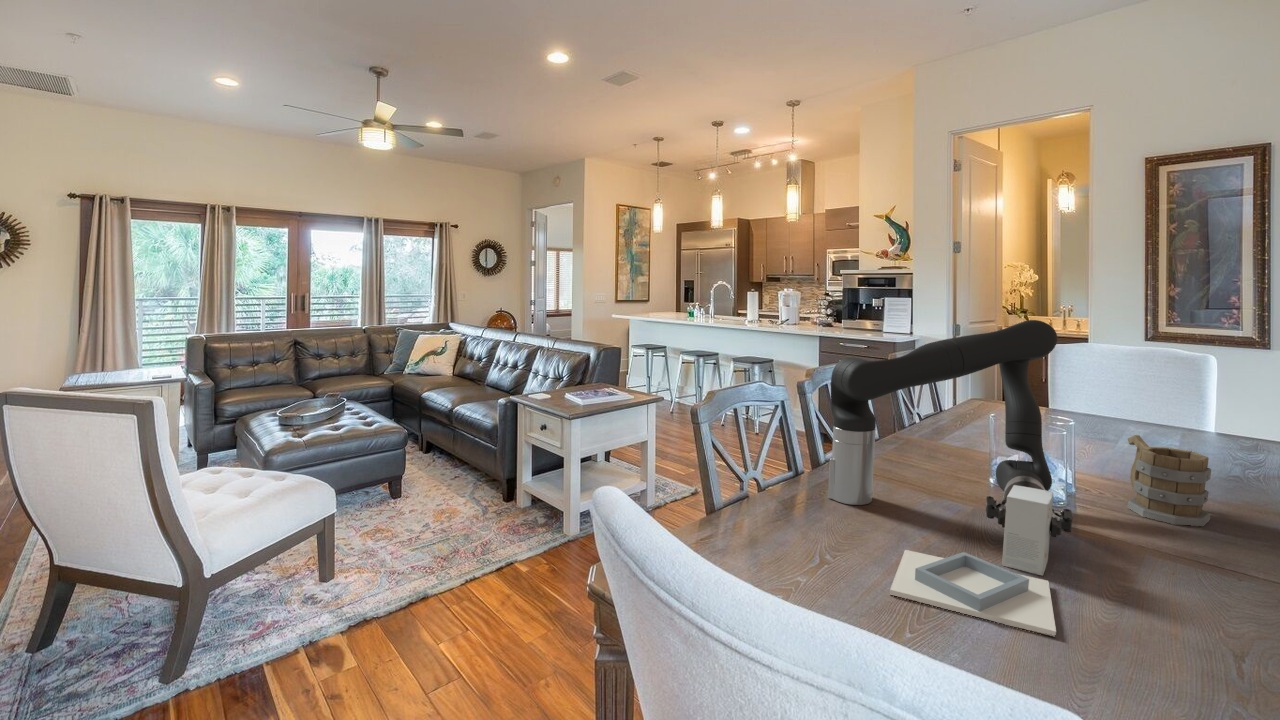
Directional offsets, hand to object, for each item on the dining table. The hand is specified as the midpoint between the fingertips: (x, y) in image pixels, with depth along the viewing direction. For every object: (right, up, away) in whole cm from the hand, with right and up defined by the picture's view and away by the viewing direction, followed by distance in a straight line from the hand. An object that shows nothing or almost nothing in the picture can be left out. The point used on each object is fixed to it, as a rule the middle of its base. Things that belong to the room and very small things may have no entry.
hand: (1029, 527), depth 104 cm
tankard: (+47, -4, +28) cm, 55 cm away
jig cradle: (-15, -8, -8) cm, 19 cm away
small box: (0, -7, +2) cm, 7 cm away
